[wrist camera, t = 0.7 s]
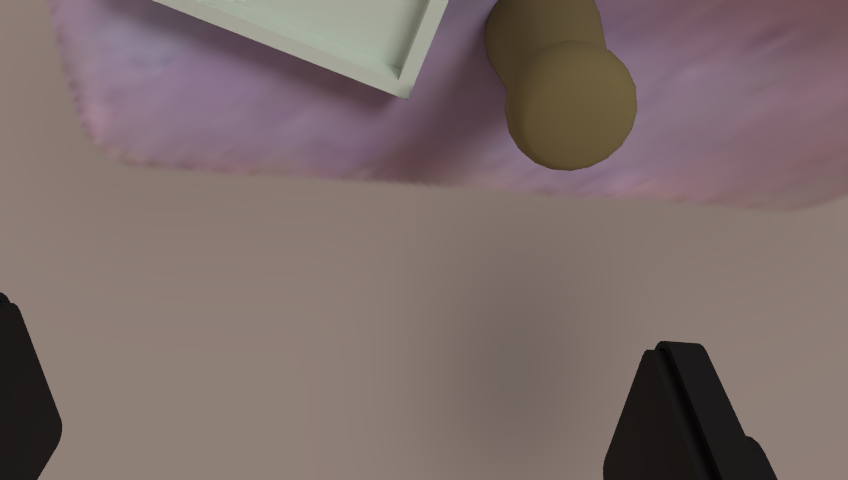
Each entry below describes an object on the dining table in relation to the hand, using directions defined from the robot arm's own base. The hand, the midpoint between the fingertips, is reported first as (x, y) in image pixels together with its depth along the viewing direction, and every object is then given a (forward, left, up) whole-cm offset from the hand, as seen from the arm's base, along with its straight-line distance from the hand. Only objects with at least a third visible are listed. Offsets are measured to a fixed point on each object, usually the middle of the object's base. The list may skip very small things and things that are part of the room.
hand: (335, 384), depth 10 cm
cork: (0, +7, -27) cm, 28 cm away
